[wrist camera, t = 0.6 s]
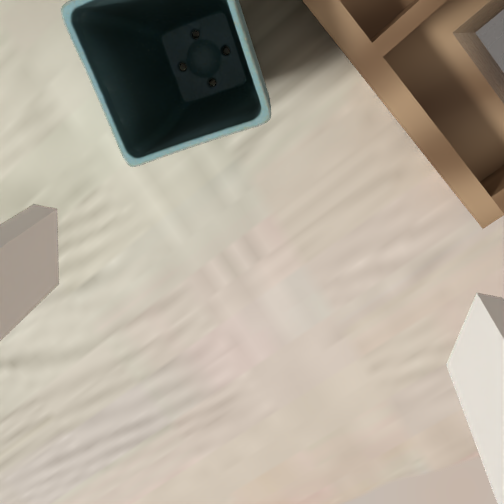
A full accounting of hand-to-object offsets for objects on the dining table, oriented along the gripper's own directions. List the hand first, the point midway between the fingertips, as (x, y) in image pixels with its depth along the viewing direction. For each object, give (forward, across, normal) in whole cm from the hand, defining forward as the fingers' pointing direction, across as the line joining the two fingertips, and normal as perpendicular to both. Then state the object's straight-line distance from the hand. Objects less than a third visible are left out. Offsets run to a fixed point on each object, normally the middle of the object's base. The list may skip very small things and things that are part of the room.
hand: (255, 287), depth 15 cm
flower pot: (+22, -7, +4) cm, 23 cm away
